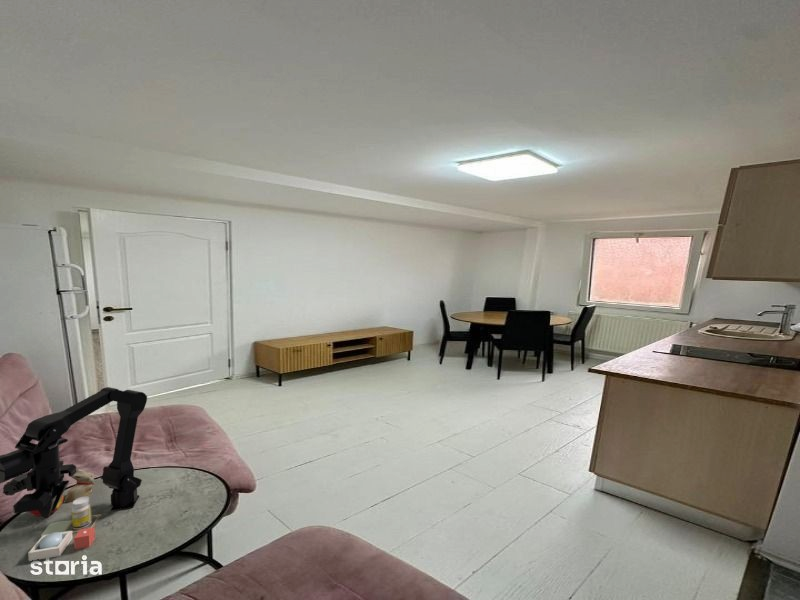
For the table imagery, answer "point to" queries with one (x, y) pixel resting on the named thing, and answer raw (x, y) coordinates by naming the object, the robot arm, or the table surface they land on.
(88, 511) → the supplement bottle
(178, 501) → the table surface
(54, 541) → the dome
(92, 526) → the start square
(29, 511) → the apple
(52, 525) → the pad
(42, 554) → the tray
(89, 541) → the red die
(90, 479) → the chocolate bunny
